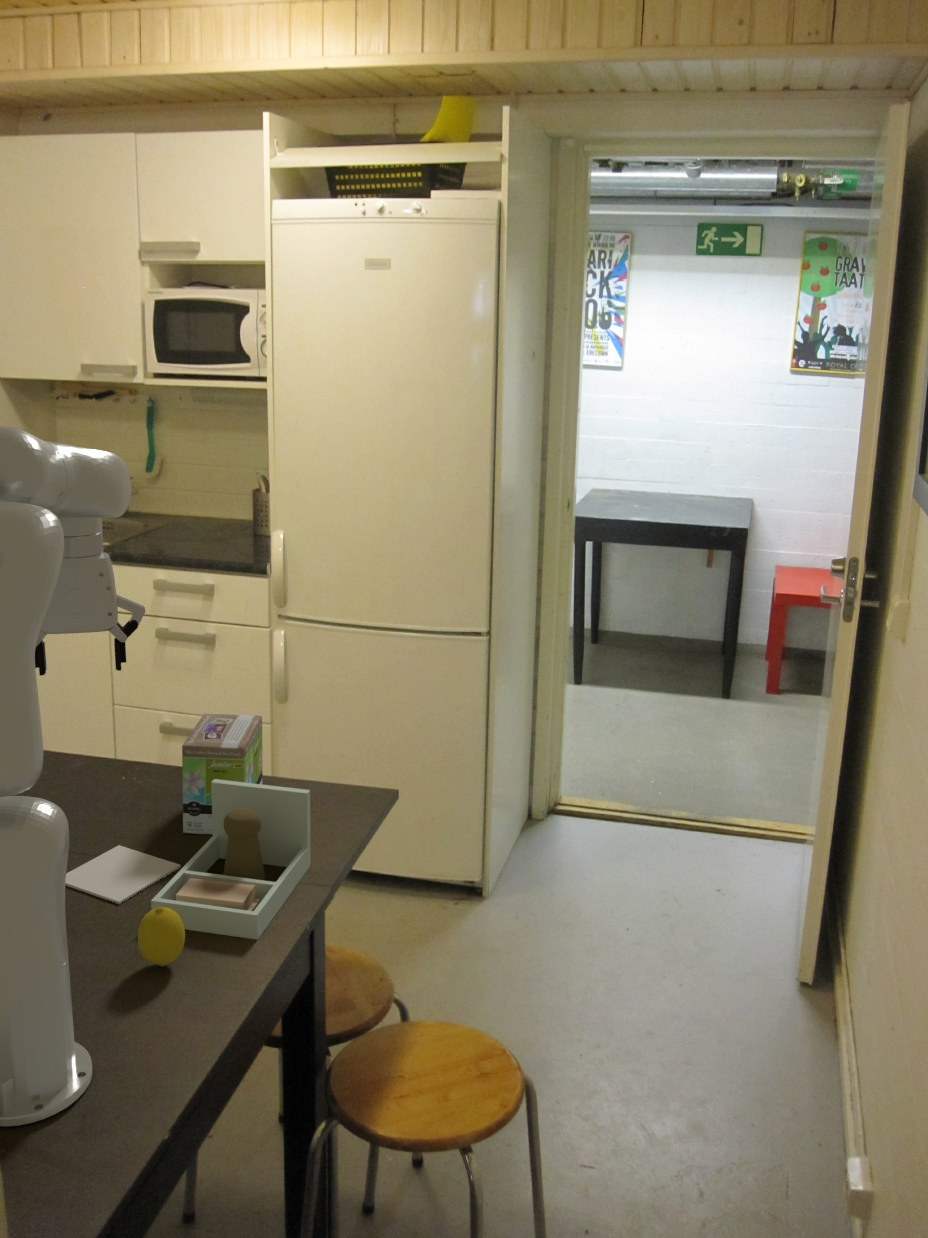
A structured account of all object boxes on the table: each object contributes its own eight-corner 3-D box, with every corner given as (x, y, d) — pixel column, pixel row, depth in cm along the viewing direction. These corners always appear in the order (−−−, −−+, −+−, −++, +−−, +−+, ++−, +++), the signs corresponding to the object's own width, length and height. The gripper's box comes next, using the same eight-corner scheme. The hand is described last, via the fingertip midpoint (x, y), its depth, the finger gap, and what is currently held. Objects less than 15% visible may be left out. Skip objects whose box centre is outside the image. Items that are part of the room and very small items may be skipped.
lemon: (137, 957, 133) (134, 899, 131) (183, 950, 135) (181, 893, 133) (141, 982, 128) (137, 922, 126) (188, 974, 130) (186, 915, 128)
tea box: (247, 837, 165) (245, 747, 161) (181, 835, 165) (178, 745, 161) (264, 796, 180) (262, 712, 176) (204, 794, 180) (201, 711, 176)
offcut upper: (243, 916, 140) (242, 902, 139) (176, 908, 141) (175, 895, 141) (255, 898, 144) (255, 885, 144) (190, 891, 145) (190, 878, 145)
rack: (257, 940, 138) (255, 854, 134) (152, 924, 140) (148, 841, 137) (310, 866, 157) (310, 790, 154) (217, 853, 160) (214, 779, 156)
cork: (214, 890, 149) (211, 817, 147) (235, 870, 155) (233, 800, 152) (253, 897, 148) (251, 824, 145) (273, 877, 153) (272, 806, 150)
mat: (119, 904, 145) (119, 902, 145) (55, 882, 150) (55, 879, 150) (180, 867, 155) (180, 865, 155) (118, 847, 160) (118, 845, 160)
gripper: (-2, 553, 134) (9, 683, 139) (142, 549, 139) (148, 674, 144) (4, 541, 141) (14, 665, 146) (141, 538, 146) (147, 658, 151)
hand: (81, 670), depth 145 cm, fingers open, 9 cm apart
